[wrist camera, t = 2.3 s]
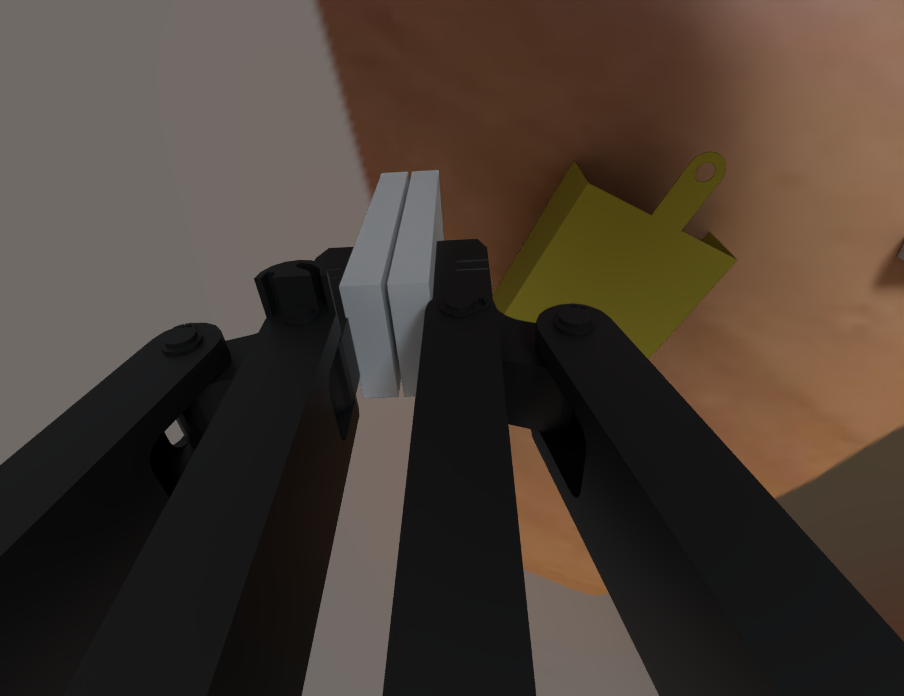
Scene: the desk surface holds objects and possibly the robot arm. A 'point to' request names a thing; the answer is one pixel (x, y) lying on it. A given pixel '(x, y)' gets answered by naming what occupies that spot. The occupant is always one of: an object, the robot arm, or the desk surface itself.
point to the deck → (901, 253)
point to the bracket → (618, 257)
